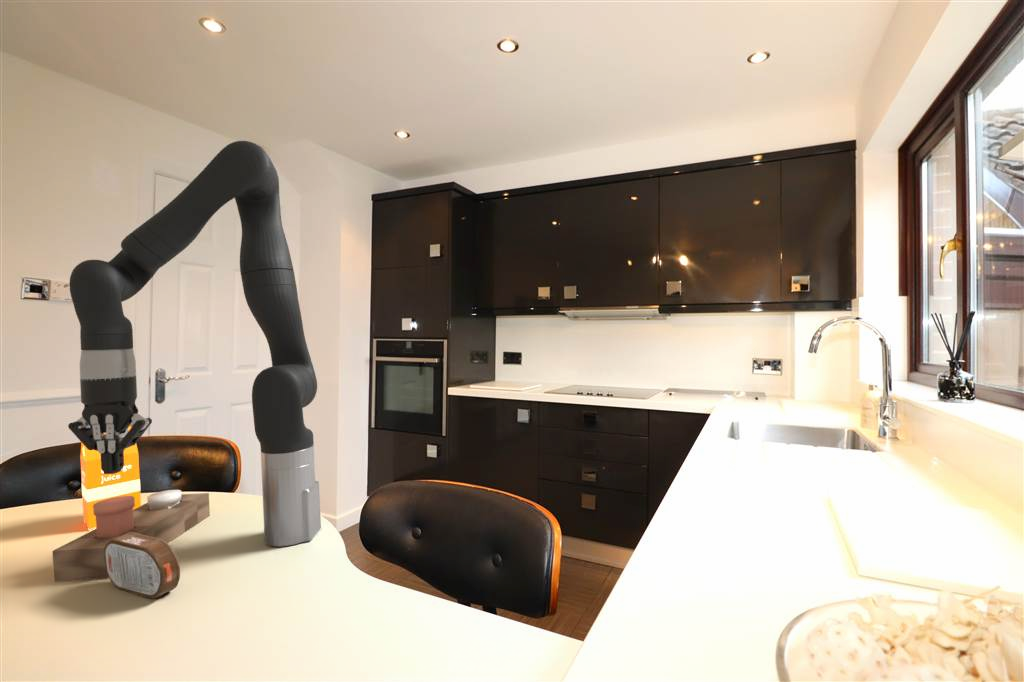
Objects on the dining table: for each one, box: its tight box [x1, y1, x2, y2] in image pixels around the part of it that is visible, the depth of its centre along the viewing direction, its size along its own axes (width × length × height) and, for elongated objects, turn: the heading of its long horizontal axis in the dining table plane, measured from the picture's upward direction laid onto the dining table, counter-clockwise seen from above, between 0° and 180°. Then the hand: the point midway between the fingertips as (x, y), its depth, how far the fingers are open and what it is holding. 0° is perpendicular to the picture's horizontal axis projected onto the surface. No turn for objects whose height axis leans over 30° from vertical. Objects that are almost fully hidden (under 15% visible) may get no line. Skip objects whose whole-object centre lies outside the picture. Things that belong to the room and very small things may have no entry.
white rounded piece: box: [146, 489, 182, 510], centre depth 96 cm, size 6×6×6 cm
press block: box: [52, 492, 211, 582], centre depth 90 cm, size 10×26×5 cm, turn 4°
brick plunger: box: [93, 496, 135, 538], centre depth 83 cm, size 6×6×6 cm
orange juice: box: [79, 426, 142, 529], centre depth 102 cm, size 8×9×20 cm
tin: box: [104, 532, 181, 599], centre depth 72 cm, size 15×3×8 cm, turn 67°
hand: (112, 472), depth 83 cm, fingers closed
